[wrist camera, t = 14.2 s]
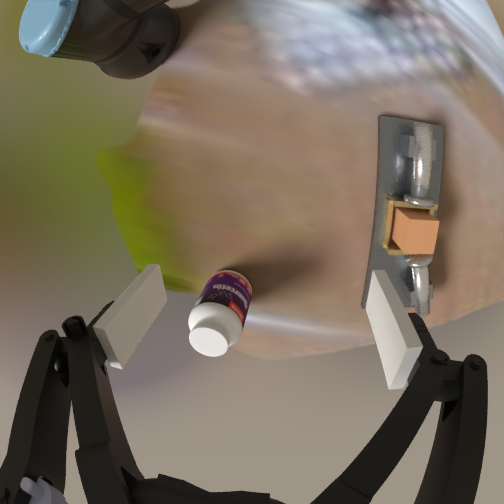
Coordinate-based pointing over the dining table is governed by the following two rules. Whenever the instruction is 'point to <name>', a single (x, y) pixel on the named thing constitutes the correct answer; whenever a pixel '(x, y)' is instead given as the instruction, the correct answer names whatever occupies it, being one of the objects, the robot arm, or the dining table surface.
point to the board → (396, 200)
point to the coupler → (414, 230)
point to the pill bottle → (220, 313)
